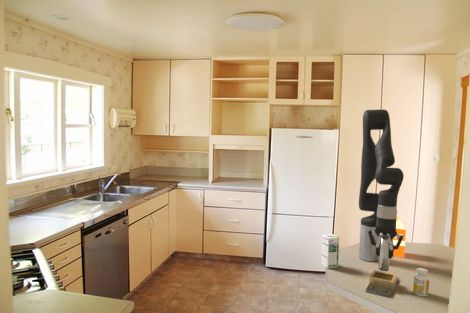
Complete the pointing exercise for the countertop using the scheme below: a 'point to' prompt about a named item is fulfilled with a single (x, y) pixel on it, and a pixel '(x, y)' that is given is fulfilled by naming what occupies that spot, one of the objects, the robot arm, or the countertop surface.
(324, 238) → the syrup box
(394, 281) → the bolted socket base
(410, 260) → the countertop surface
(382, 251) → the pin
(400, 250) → the orange juice
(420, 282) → the supplement bottle
